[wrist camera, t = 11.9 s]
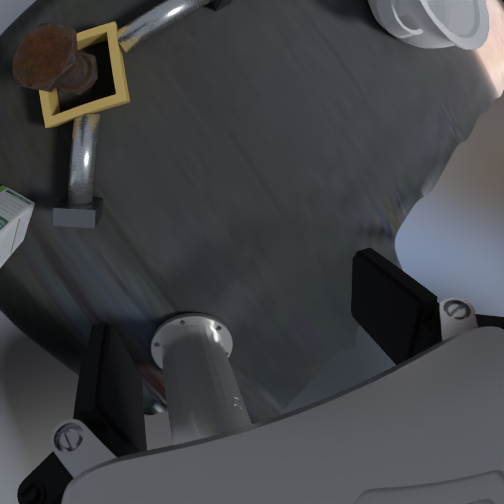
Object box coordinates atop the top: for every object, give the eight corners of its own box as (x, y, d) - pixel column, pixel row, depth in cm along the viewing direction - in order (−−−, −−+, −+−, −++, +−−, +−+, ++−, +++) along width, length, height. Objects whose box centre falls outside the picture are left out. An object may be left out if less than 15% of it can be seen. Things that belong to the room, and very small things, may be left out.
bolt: (79, 109, 29) (30, 106, 16) (55, 82, 26) (-2, 65, 13) (117, 74, 29) (89, 47, 15) (92, 47, 26) (55, 8, 13)
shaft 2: (132, 62, 28) (128, 53, 24) (110, 33, 26) (103, 21, 22) (229, 4, 28) (240, -10, 24) (207, -24, 26) (215, -40, 21)
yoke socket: (130, 102, 30) (127, 100, 27) (55, 126, 29) (45, 128, 26) (118, 29, 26) (115, 21, 23) (44, 55, 24) (34, 50, 21)
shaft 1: (72, 113, 29) (59, 113, 24) (111, 115, 30) (104, 114, 26) (65, 212, 33) (53, 225, 29) (102, 214, 35) (94, 228, 30)
